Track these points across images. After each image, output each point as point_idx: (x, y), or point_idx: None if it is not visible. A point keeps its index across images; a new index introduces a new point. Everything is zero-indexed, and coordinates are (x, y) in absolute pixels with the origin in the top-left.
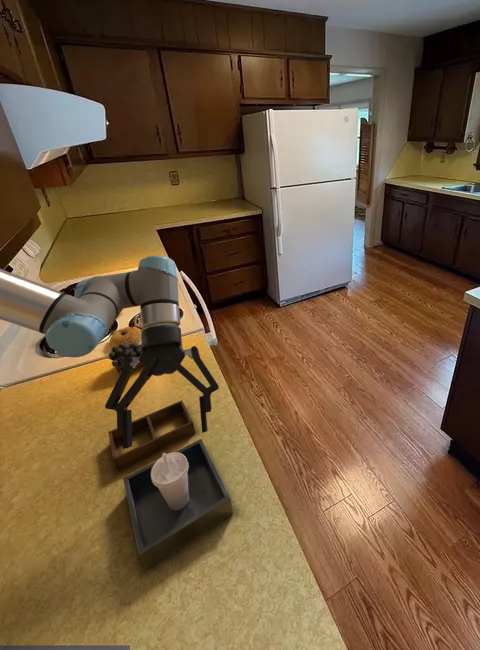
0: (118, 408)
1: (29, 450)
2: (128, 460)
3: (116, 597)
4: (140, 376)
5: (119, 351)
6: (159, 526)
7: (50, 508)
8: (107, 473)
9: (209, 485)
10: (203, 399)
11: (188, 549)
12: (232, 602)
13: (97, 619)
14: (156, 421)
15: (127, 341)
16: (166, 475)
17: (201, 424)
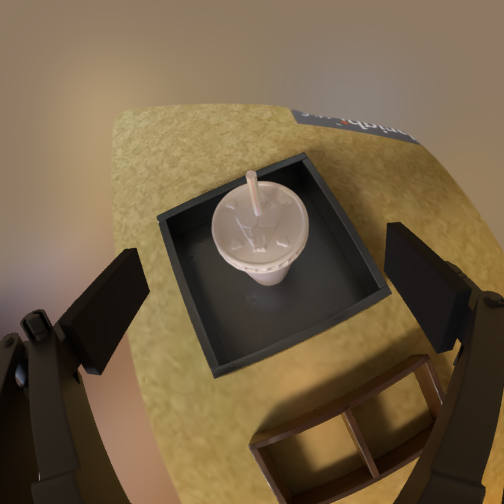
0: (493, 294)
1: None
2: (398, 367)
3: (331, 158)
4: (468, 481)
5: None
6: None
7: (483, 289)
8: (429, 350)
9: (209, 287)
10: (67, 313)
11: None
12: (188, 143)
13: (344, 144)
14: (354, 474)
15: None
16: (261, 197)
17: (124, 259)
